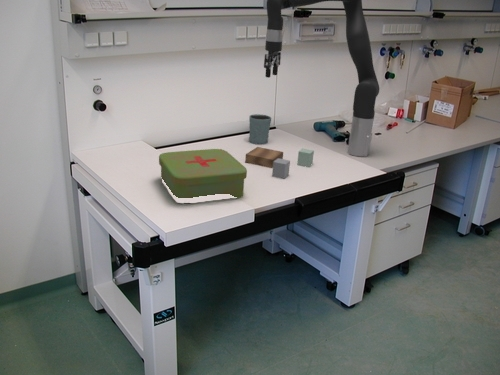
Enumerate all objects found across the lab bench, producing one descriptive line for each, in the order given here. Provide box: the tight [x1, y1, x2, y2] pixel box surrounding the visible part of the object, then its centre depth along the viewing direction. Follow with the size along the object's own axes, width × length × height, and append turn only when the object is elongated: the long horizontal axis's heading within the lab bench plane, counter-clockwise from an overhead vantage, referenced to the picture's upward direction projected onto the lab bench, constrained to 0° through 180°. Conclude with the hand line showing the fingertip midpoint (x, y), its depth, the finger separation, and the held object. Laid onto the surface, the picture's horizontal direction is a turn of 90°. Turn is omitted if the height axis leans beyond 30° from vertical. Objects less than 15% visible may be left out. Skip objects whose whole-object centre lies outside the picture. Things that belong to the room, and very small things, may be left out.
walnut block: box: [245, 146, 284, 169], centre depth 205 cm, size 12×12×4 cm
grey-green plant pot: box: [248, 113, 272, 145], centre depth 228 cm, size 10×10×12 cm
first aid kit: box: [158, 148, 248, 199], centre depth 174 cm, size 26×26×10 cm
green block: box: [297, 148, 315, 168], centre depth 204 cm, size 5×5×6 cm
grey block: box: [271, 158, 291, 180], centre depth 190 cm, size 5×5×6 cm
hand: (271, 76), depth 228 cm, fingers open, 8 cm apart
